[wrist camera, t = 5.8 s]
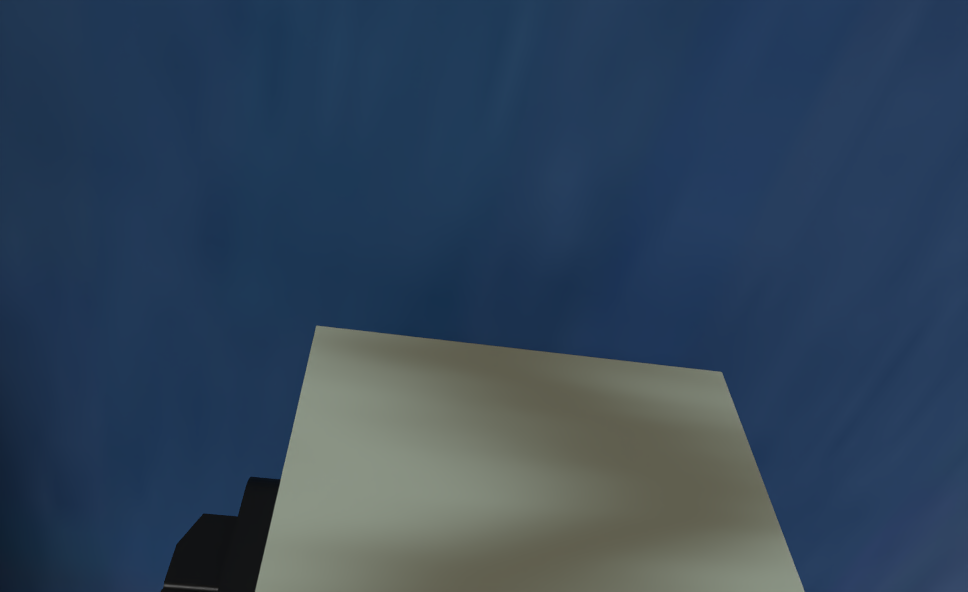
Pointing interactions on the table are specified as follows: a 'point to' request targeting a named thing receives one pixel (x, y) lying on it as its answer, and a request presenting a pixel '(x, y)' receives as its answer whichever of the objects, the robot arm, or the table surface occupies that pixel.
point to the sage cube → (515, 476)
